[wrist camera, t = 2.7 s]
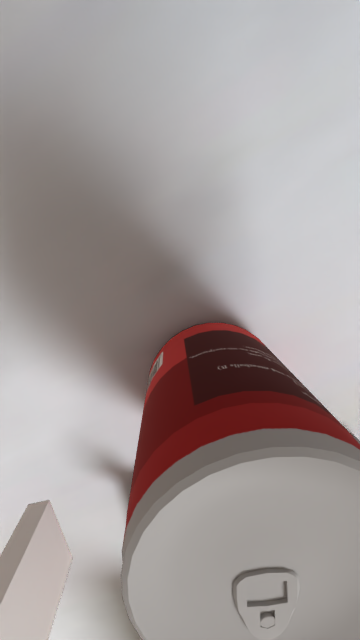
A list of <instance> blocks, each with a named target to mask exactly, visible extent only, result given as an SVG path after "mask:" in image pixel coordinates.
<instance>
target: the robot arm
mask: <svg viewBox="0 0 360 640" xmlns="http://www.w3.org/2000/svg"><path fill="white" fill-rule="evenodd" d="M72 560H73V558H72V555H71V553H70V550H69V548H68V545H67V543H66V540H65V538H64V535H63V533H62V530H61V528H60V525H59V523H58V520H57V518H56V515H55V513H54V510H53V508H52V505H51V502H50V500H46V501H42V502H37V503H33V504H28V506H27V508H26V510H25V512H24V513H23V515H22V517H21V519H20V521H19V523H18V525H17V526H16V528H15V530H14V532H13V534H12V536H11V537H10V539H9V541H8V543H7V545H6V547H5V548H4V550H3V552H2V554H1V556H0V640H48V638H49V635H50V632H51V629H52V625H53V622H54V619H55V615H56V612H57V609H58V606H59V602H60V599H61V596H62V592H63V589H64V586H65V583H66V579H67V576H68V573H69V569H70V566H71V563H72Z"/></svg>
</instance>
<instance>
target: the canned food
mask: <svg viewBox="0 0 360 640" xmlns="http://www.w3.org/2000/svg"><path fill="white" fill-rule="evenodd" d="M122 561H123V564H122V571H121V584H122V598H123V601H124V604H125V607H126V610H127V614H128V617H129V620H130V621H131V623H132V624H133V626H134V627H135V629H136V631H137V632H138V634H139V635H140V637H141V639H142V640H360V444H359V443H358V442H357V441H356V439H355V438H354V437H353V436H352V435H351V434H350V433H349V432H348V431H347V430H346V429H345V428H344V427H343V426H342V424H341V423H340V422H339V421H338V420H337V419H336V418H335V417H334V416H333V415H332V414H331V413H330V412H329V411H328V410H327V409H326V408H325V407H324V406H323V405H322V404H321V403H320V402H319V401H318V400H317V399H316V398H315V397H314V396H313V395H312V393H311V392H310V391H309V390H308V389H307V388H306V387H305V386H304V385H303V384H302V383H301V382H300V381H299V380H298V379H297V378H296V377H295V376H294V375H293V374H292V373H291V372H290V371H289V370H288V369H287V368H286V367H285V366H284V365H283V364H282V362H281V361H280V360H279V359H278V358H277V357H276V356H275V355H274V354H273V353H272V352H271V351H270V350H269V349H268V348H267V347H266V346H265V345H264V344H263V343H262V342H261V341H260V340H259V339H258V338H257V337H256V336H254V335H253V334H251V333H250V332H249V331H247V330H245V329H242V328H240V327H238V326H235V325H230V324H226V323H205V324H200V325H195V326H193V327H191V328H188V329H186V330H183V331H182V332H180V333H179V334H177V335H176V336H174V337H173V338H171V339H170V340H169V341H168V342H167V343H166V344H165V345H164V346H163V347H162V349H161V350H160V352H159V353H158V355H157V356H156V358H155V359H154V362H153V364H152V367H151V369H150V373H149V379H148V385H147V391H146V397H145V403H144V410H143V416H142V422H141V428H140V435H139V441H138V447H137V453H136V460H135V466H134V472H133V479H132V485H131V491H130V497H129V504H128V510H127V519H126V528H125V534H124V541H123V547H122Z"/></svg>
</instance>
